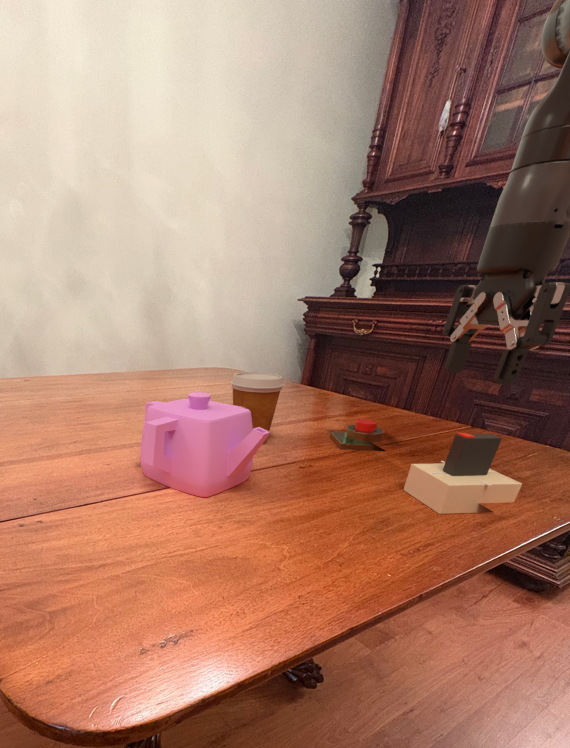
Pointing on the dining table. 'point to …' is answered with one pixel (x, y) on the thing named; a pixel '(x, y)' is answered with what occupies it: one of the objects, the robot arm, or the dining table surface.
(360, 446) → the switch block
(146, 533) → the dining table surface
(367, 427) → the power button
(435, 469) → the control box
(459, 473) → the switch lever
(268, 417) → the disposable coffee cup
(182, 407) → the teakettle
